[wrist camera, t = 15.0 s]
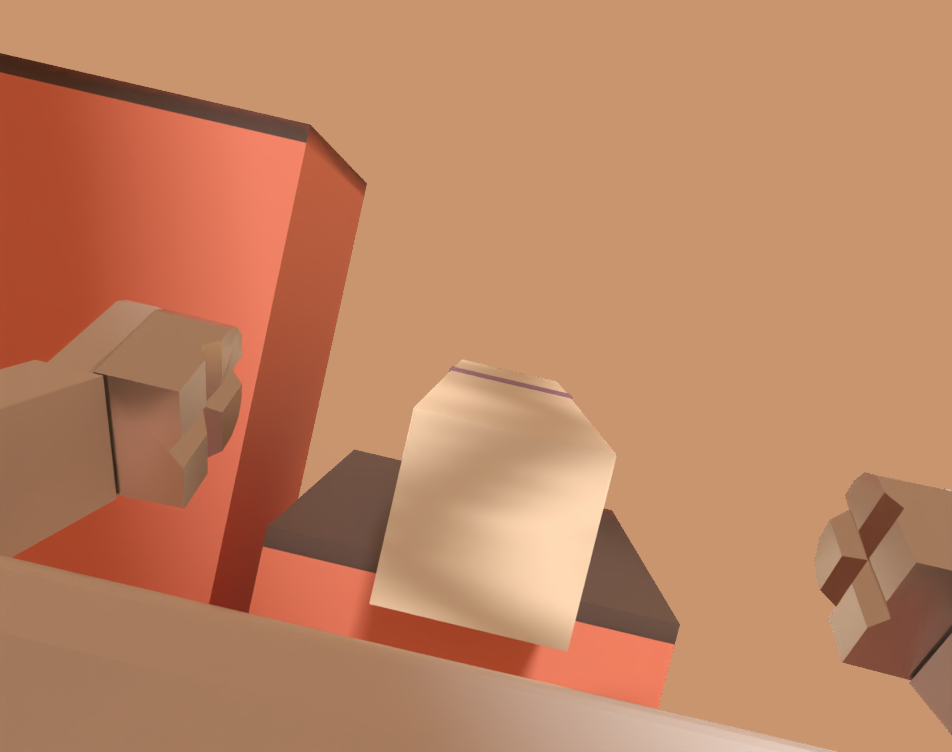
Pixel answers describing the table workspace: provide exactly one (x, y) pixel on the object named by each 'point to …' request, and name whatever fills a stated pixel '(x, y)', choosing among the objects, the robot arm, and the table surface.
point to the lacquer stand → (248, 369)
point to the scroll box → (495, 507)
